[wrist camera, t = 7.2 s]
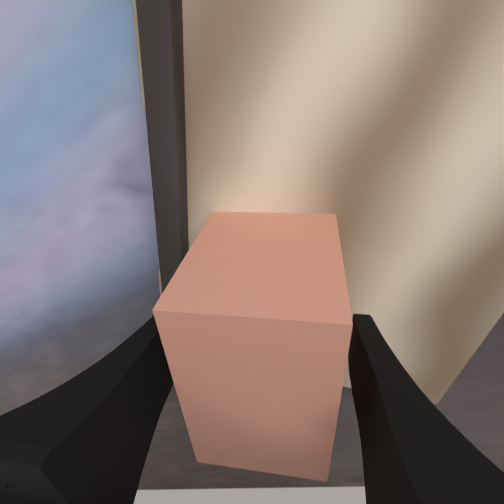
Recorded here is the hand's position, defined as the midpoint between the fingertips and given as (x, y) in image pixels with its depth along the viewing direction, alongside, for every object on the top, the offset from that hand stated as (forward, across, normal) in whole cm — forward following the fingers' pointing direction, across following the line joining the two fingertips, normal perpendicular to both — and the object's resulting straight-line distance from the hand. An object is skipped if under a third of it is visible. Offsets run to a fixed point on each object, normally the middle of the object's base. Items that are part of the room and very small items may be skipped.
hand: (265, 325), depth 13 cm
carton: (+2, 0, 0) cm, 2 cm away
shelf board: (+4, -4, -4) cm, 6 cm away
